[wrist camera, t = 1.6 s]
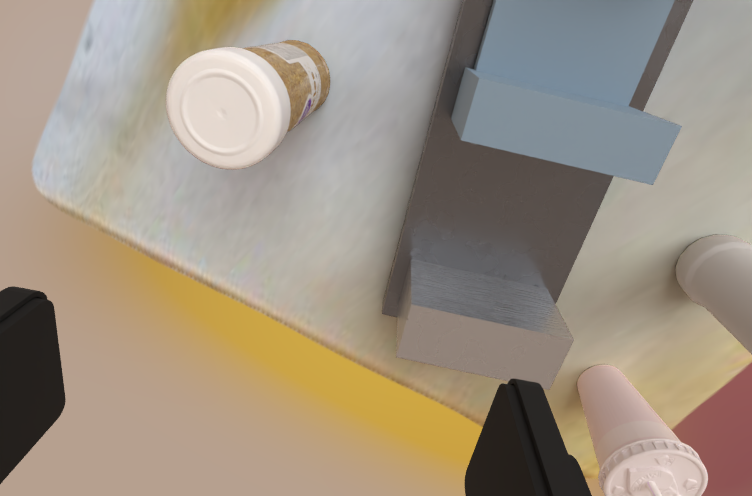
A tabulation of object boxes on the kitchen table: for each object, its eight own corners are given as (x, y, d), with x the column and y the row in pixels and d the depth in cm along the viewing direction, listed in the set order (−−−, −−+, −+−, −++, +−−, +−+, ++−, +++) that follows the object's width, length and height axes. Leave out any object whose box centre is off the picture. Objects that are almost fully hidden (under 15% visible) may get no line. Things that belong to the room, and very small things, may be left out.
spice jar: (321, 123, 31) (267, 186, 19) (254, 102, 31) (156, 153, 19) (339, 51, 29) (291, 71, 17) (267, 28, 29) (167, 32, 17)
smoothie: (601, 337, 37) (701, 499, 24) (658, 377, 38) (781, 550, 26) (543, 387, 40) (607, 558, 27) (599, 423, 41) (684, 602, 28)
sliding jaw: (531, -170, 23) (570, -229, 18) (727, -119, 23) (824, -162, 18) (451, 118, 29) (460, 140, 24) (607, 155, 29) (652, 184, 24)
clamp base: (511, -188, 24) (552, -270, 17) (736, -129, 24) (861, -187, 18) (382, 303, 37) (377, 366, 30) (531, 335, 37) (558, 404, 31)
